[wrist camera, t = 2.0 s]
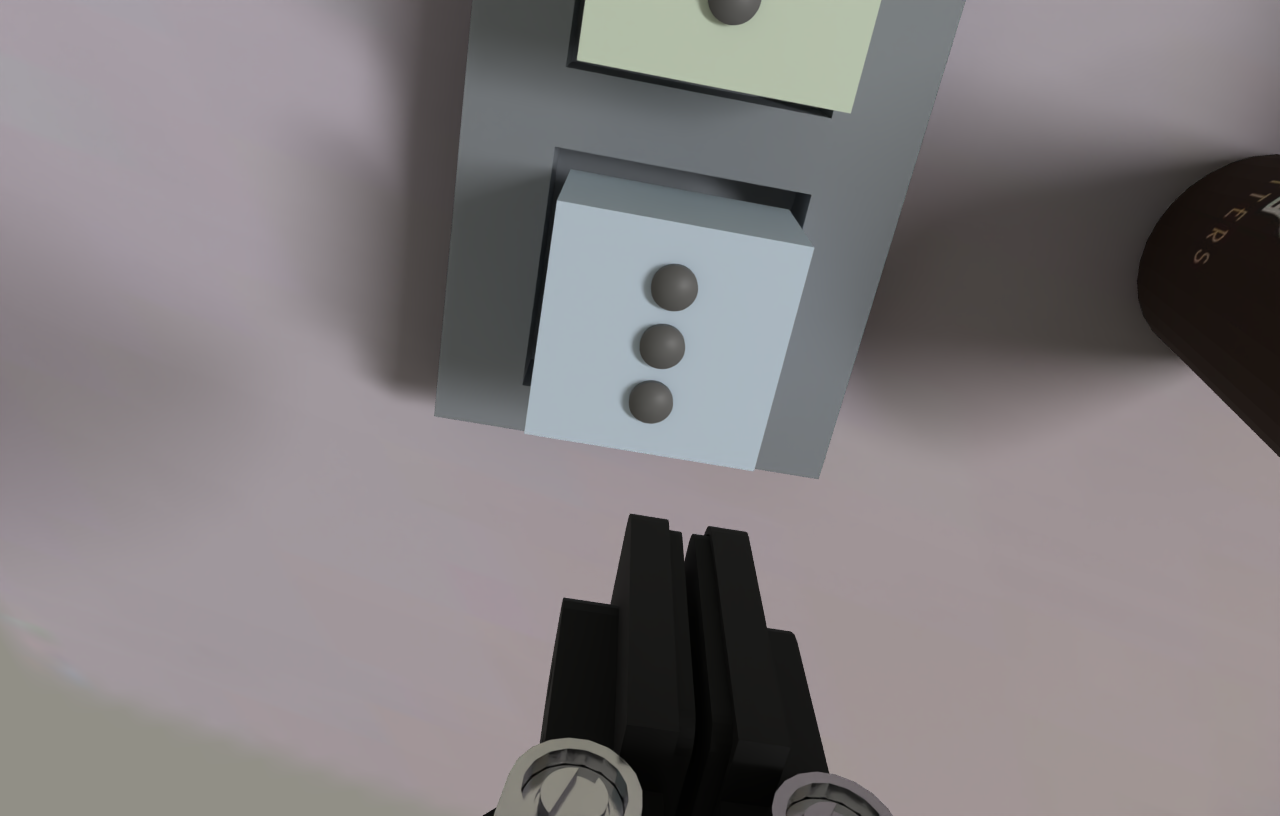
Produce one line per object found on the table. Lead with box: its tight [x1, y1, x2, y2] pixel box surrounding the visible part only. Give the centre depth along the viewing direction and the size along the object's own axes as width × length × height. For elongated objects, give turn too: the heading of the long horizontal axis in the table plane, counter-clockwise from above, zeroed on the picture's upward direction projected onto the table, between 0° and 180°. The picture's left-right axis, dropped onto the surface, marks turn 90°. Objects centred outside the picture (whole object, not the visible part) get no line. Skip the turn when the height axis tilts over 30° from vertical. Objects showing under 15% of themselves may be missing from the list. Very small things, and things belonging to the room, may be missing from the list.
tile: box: [524, 169, 814, 471], centre depth 23 cm, size 6×6×4 cm
